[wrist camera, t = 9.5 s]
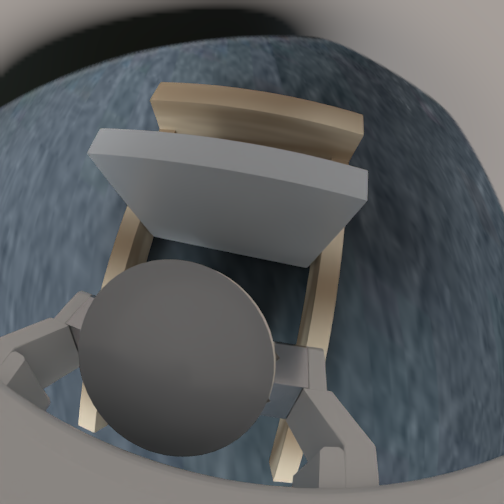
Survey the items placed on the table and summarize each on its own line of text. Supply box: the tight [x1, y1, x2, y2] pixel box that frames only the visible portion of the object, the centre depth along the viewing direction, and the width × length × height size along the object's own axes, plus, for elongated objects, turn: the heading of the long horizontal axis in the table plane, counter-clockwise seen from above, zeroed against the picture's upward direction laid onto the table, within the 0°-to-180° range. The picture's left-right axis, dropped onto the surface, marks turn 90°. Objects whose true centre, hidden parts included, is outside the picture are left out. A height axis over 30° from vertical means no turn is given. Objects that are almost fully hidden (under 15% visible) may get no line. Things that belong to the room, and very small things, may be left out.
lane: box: [78, 82, 364, 483], centre depth 13 cm, size 18×11×5 cm, turn 168°
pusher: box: [87, 129, 368, 268], centre depth 11 cm, size 1×8×8 cm, turn 78°
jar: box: [78, 259, 276, 456], centre depth 9 cm, size 5×5×7 cm
